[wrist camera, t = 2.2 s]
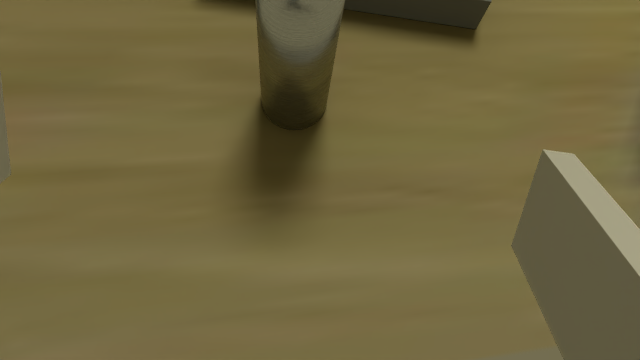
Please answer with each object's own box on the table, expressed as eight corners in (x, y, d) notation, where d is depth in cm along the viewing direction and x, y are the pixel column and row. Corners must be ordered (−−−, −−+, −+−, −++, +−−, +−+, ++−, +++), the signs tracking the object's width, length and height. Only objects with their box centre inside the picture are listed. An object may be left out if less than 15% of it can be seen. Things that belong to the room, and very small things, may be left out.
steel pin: (256, 124, 35) (246, 5, 24) (266, 66, 37) (261, -74, 25) (322, 134, 35) (342, 20, 24) (330, 76, 37) (353, -59, 25)
